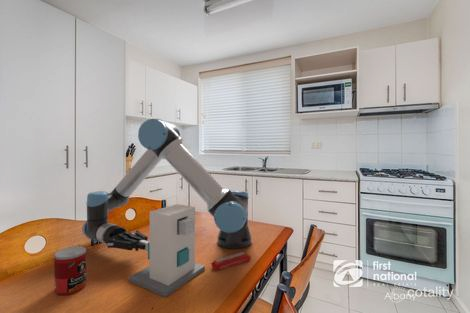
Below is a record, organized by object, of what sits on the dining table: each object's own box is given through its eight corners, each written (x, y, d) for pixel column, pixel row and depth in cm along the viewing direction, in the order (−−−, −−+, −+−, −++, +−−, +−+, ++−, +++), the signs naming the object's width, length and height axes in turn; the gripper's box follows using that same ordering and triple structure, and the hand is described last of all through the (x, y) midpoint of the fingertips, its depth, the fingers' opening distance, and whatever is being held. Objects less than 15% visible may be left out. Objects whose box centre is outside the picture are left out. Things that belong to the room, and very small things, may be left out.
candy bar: (214, 272, 80) (214, 264, 80) (209, 268, 83) (209, 259, 83) (252, 261, 89) (252, 253, 89) (246, 257, 92) (246, 249, 92)
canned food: (71, 297, 65) (70, 258, 65) (47, 294, 67) (46, 255, 67) (92, 282, 73) (92, 247, 73) (71, 279, 75) (70, 244, 74)
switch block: (128, 280, 74) (128, 211, 73) (170, 258, 90) (170, 200, 89) (165, 297, 66) (165, 219, 65) (204, 269, 82) (205, 206, 81)
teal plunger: (147, 259, 79) (147, 242, 78) (160, 252, 84) (160, 237, 83) (178, 270, 72) (178, 251, 72) (190, 262, 77) (190, 245, 77)
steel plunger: (152, 230, 77) (152, 213, 77) (165, 225, 82) (165, 209, 82) (183, 238, 71) (184, 220, 70) (195, 233, 75) (196, 215, 75)
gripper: (126, 238, 99) (167, 251, 87) (95, 250, 87) (137, 267, 76) (126, 220, 98) (168, 231, 87) (95, 230, 87) (137, 243, 75)
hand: (153, 248), depth 81 cm, fingers closed
